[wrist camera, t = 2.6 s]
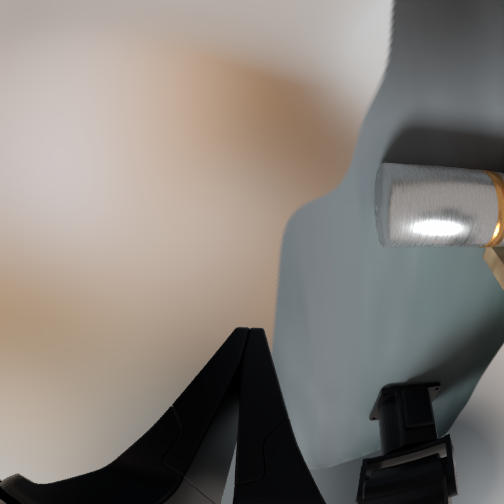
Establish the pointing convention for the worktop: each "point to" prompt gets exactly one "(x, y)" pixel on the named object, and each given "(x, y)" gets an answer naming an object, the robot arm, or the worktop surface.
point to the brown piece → (496, 262)
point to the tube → (438, 206)
